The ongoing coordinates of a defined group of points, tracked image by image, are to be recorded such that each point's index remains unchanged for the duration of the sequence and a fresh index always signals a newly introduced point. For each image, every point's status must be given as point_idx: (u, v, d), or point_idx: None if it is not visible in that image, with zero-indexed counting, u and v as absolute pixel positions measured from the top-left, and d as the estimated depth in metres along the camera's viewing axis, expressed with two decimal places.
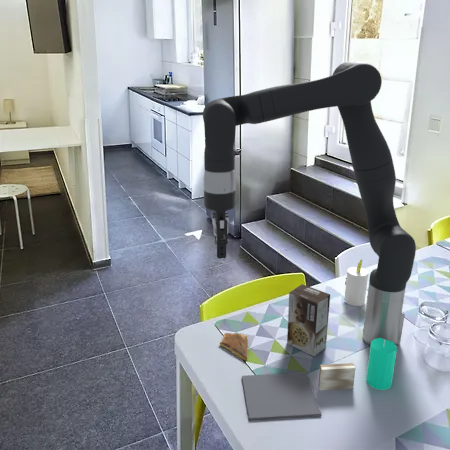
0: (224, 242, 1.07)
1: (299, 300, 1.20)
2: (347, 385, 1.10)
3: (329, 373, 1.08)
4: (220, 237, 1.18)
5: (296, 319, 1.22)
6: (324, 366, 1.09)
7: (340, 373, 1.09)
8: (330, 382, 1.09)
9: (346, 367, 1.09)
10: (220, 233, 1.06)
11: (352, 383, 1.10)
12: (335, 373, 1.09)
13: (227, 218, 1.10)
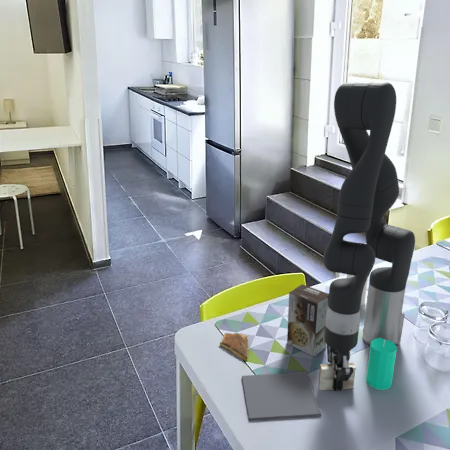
0: (345, 379, 1.06)
1: (299, 300, 1.20)
2: (347, 385, 1.10)
3: (329, 373, 1.08)
4: None
5: (296, 319, 1.22)
6: (324, 365, 1.09)
7: None
8: (330, 382, 1.09)
9: None
10: (343, 377, 1.04)
11: (352, 383, 1.10)
12: None
13: (348, 356, 1.06)
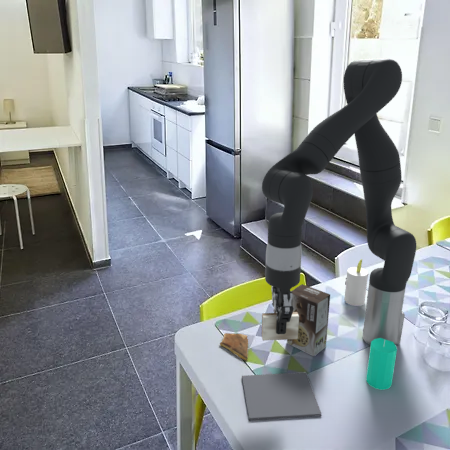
0: (286, 320, 1.00)
1: (299, 300, 1.20)
2: (291, 335, 1.05)
3: (271, 322, 1.03)
4: None
5: None
6: (266, 314, 1.04)
7: None
8: (273, 331, 1.04)
9: None
10: (283, 317, 0.98)
11: (296, 333, 1.05)
12: None
13: (291, 296, 1.00)
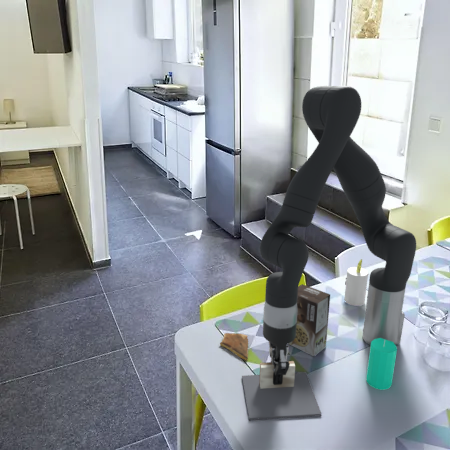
0: (283, 373, 1.05)
1: (299, 300, 1.20)
2: (287, 383, 1.10)
3: (268, 371, 1.08)
4: None
5: None
6: (263, 364, 1.09)
7: None
8: (270, 380, 1.09)
9: None
10: (280, 371, 1.03)
11: (292, 381, 1.10)
12: None
13: (287, 350, 1.05)
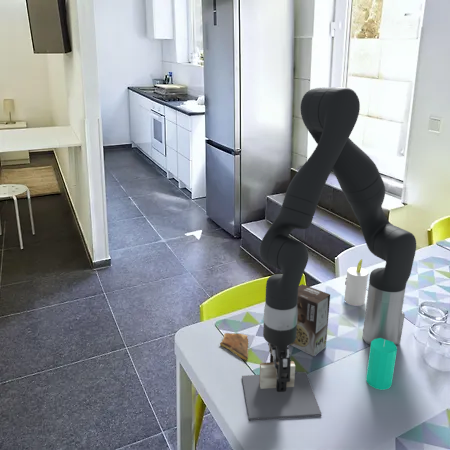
0: (286, 380, 1.02)
1: (299, 300, 1.20)
2: (288, 383, 1.10)
3: (269, 371, 1.08)
4: (276, 361, 1.13)
5: None
6: (263, 364, 1.09)
7: None
8: (270, 380, 1.09)
9: None
10: (283, 372, 1.01)
11: (292, 381, 1.10)
12: (275, 371, 1.08)
13: (287, 350, 1.05)
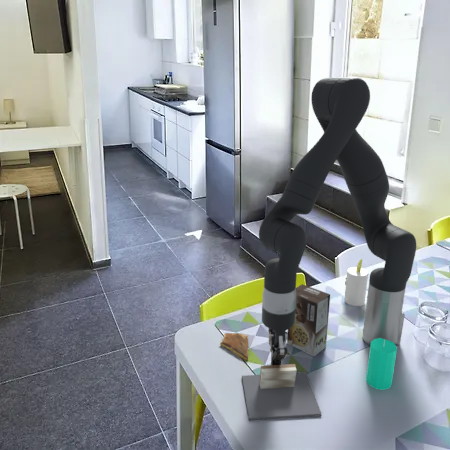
0: (281, 357, 1.06)
1: (299, 300, 1.20)
2: (288, 384, 1.09)
3: (269, 375, 1.07)
4: None
5: (296, 319, 1.22)
6: (264, 367, 1.07)
7: (281, 374, 1.07)
8: (270, 382, 1.09)
9: (287, 369, 1.07)
10: (278, 356, 1.04)
11: (293, 382, 1.09)
12: (275, 375, 1.07)
13: (286, 336, 1.06)
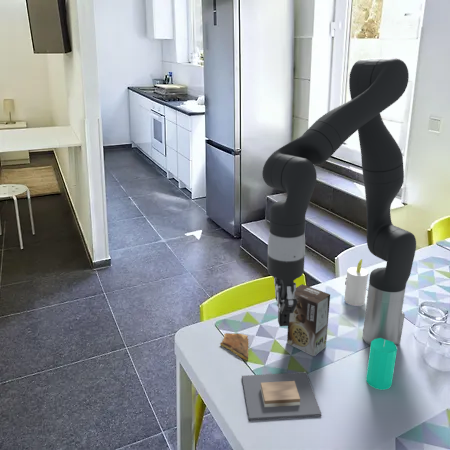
0: (289, 311, 0.96)
1: (299, 300, 1.20)
2: None
3: None
4: None
5: (296, 319, 1.22)
6: (268, 402, 1.04)
7: None
8: None
9: (290, 404, 1.04)
10: (287, 309, 0.95)
11: None
12: None
13: (294, 288, 0.96)
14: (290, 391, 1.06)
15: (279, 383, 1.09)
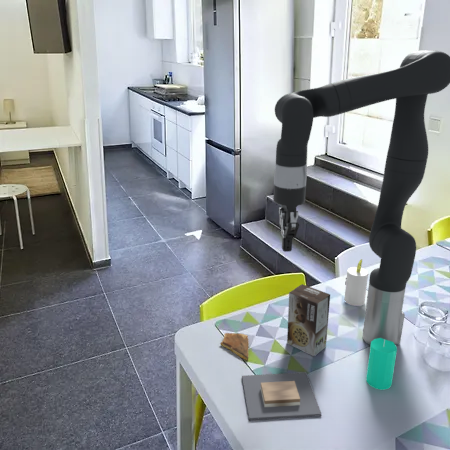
0: (292, 235, 1.10)
1: (299, 300, 1.20)
2: None
3: None
4: None
5: (296, 319, 1.22)
6: (268, 402, 1.04)
7: None
8: None
9: (290, 404, 1.04)
10: (290, 232, 1.08)
11: None
12: None
13: (296, 215, 1.10)
14: (290, 391, 1.06)
15: (279, 383, 1.09)
